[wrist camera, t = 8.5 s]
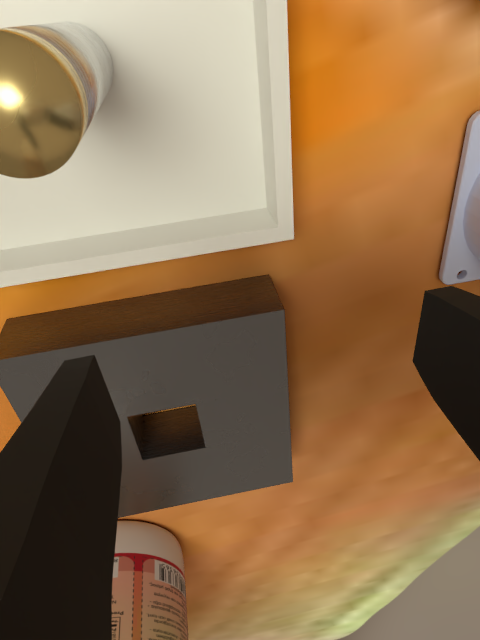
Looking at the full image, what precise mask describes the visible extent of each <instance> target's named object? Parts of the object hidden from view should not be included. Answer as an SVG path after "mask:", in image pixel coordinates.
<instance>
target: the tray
mask: <svg viewBox="0 0 480 640" xmlns="http://www.w3.org/2000/svg"><path fill="white" fill-rule="evenodd" d="M67 21H68V22H75V23H79V24H82V25H84V26H86V27H88V28H89V29H91V30H92V31H94V32H95V33H96V34H97V35H98V36H99V37H100V38H101V39H102V41H103V42H104V44H105V45H106V47H107V49H108V50H109V53H110V55H111V58H112V62H113V70H114V75H113V82H112V85H111V88H110V90H109V92H108V94H107V95H106V97H105V99H104V101H103V102H102V104H101V106H100V108H99V109H98V111H97V113H96V115H95V116H94V118H93V120H92V122H91V124H90V125H89V127H88V129H87V131H86V132H85V134H84V136H83V138H82V139H81V141H80V143H79V145H78V146H77V148H76V150H75V152H74V153H73V155H72V156H71V158H70V159H69V160H68V161H67V162H66V163H65V164H64V165H63V166H62V167H61V168H59V169H58V170H56V171H54V172H53V173H51V174H48V175H45V176H42V177H37V178H28V179H24V178H14V177H8V176H5V175H1V174H0V288H1V287H7V286H13V285H19V284H25V283H31V282H37V281H43V280H49V279H55V278H62V277H68V276H74V275H80V274H86V273H92V272H98V271H104V270H110V269H116V268H122V267H128V266H134V265H140V264H146V263H153V262H159V261H165V260H171V259H177V258H183V257H189V256H195V255H201V254H207V253H213V252H219V251H225V250H231V249H237V248H244V247H250V246H256V245H262V244H268V243H274V242H280V241H286V240H292V239H294V220H293V187H292V154H291V121H290V87H289V54H288V21H287V0H0V28H7V27H17V26H26V25H36V24H45V23H55V22H67Z"/></svg>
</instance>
